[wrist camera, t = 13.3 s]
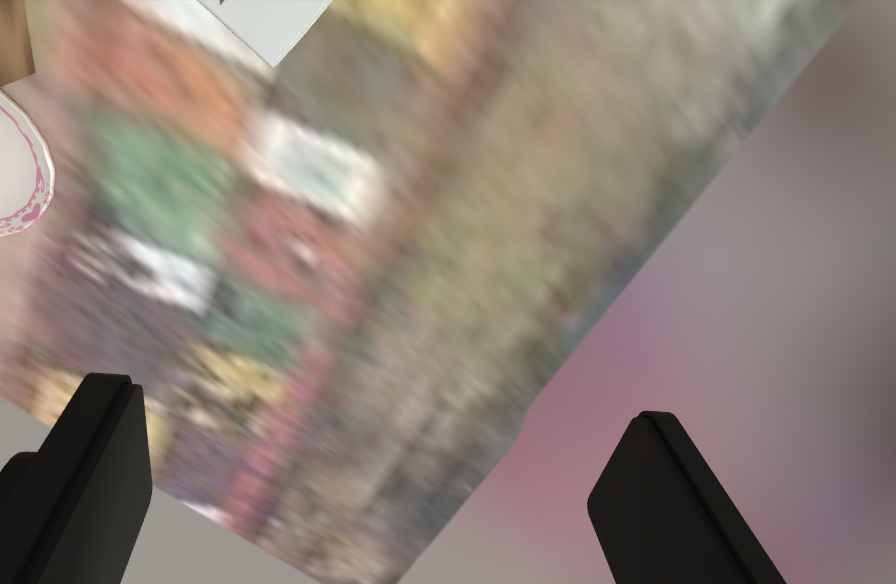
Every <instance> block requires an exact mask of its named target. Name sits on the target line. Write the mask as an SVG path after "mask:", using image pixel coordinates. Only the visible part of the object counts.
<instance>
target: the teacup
mask: <svg viewBox="0 0 896 584" xmlns="http://www.w3.org/2000/svg"><path fill="white" fill-rule="evenodd" d="M54 184H55V168H54V165H53V161H52V158H51V155H50V152H49V149H48V146H47V143H46V141H45V139H44V138H43V137H42V135H41V134H40V132H39V131H38V129H37V128H36V126H35V125H34V123H33V122H32V120H31V119H30V117H29V116H28V114H27V113H26V112H25V111H24V110H23V109H22V108H20V107H19V106H18V105H17V104H16V103H15V102H14V101H13V100H12V99H11V98H10V97H9V96H8V95H6V94H5V93H4V92H3V91H2V90H1V89H0V237H1V236H4V235H8V234H12V233H16V232H19V231H22V230H24V229H25V228H26V227H28V226H29V225H30V224H32V223H33V222H35V221H36V220H37V219H39V218H40V217H41V216H43V214H44V212H45V211H46V209H47V207H48V205H49V203H50V201H51V200H52V198H53V196H54Z"/></svg>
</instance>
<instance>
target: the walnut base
mask: <svg viewBox="0 0 896 584" xmlns="http://www.w3.org/2000/svg"><path fill="white" fill-rule="evenodd" d="M34 73H35V67H34V62H33V56H32V50H31V44H30V38H29V32H28V26H27V20H26V14H25V9H24V3H23V0H0V87H2V86H4V85H7V84H9V83H12V82H14V81H16V80H19V79H21V78H24V77H26V76H29V75H31V74H34Z"/></svg>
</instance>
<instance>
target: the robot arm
mask: <svg viewBox="0 0 896 584" xmlns="http://www.w3.org/2000/svg"><path fill="white" fill-rule="evenodd" d="M151 495H152V477H151V467H150V457H149V446H148V436H147V426H146V416H145V406H144V396H143V388H142V386H141V385H138V384H132V381H131V378H130V376H129V375H120V374H105V373H89V374H87V375H86V377H85V378H84V379H83V381H82V382H81V384H80V385H79V387H78V389H77V390H76V392H75V393H74V395H73V396H72V398H71V400H70V401H69V403H68V404H67V406H66V408H65V409H64V411H63V412H62V414H61V415H60V417H59V419H58V420H57V422H56V423H55V425H54V427H53V428H52V430H51V431H50V433H49V435H48V436H47V438H46V439H45V441H44V442H43V444H42V446H41V447H40V449H39V450H38V452H20V453H17V454H16V455H15V456H13V457H12V458H11V459H10V460H9V461H8V463H7V464H6V465H5V466H4V467H3V469H2V470H1V472H0V584H120V582H121V580H122V577H123V574H124V572H125V569H126V566H127V564H128V561H129V558H130V556H131V553H132V550H133V548H134V545H135V542H136V540H137V537H138V534H139V532H140V529H141V526H142V524H143V521H144V518H145V516H146V513H147V510H148V507H149V504H150V500H151ZM587 509H588V513H589V517H590V519H591V522H592V524H593V527H594V529H595V532H596V534H597V537H598V539H599V542H600V544H601V547H602V550H603V552H604V554H605V557H606V560H607V562H608V565H609V567H610V570H611V572H612V575H613V577H614V580H615V582H616V584H786V582H785V581H784V579H783V578H782V576H781V574H780V573H779V571H778V570H777V568H776V567H775V565H774V564H773V562H772V561H771V559H770V558H769V556H768V555H767V553H766V552H765V550H764V549H763V547H762V546H761V544H760V543H759V541H758V540H757V538H756V537H755V535H754V534H753V532H752V531H751V529H750V528H749V526H748V525H747V523H746V522H745V520H744V519H743V517H742V516H741V514H740V513H739V511H738V509H737V508H736V506H735V505H734V503H733V502H732V500H731V499H730V497H729V496H728V494H727V493H726V492H725V490H724V488H723V487H722V485H721V484H720V482H719V481H718V479H717V478H716V476H715V475H714V473H713V472H712V470H711V469H710V467H709V466H708V464H707V463H706V462H705V460H704V458H703V457H702V455H701V454H700V452H699V451H698V449H697V448H696V446H695V445H694V443H693V442H692V440H691V438H690V437H689V436H688V434H687V432H686V431H685V429H684V428H683V426H682V425H681V423H680V422H679V420H678V419H677V418H676V416H675V415H674V414H672V413H670V412H658V411H643V412H641V413H640V414H639V415H638V416H637V417H635V418H633V419H632V420H631V422H630V424H629V426H628V427H627V429H626V431H625V433H624V434H623V436H622V438H621V440H620V442H619V443H618V445H617V447H616V449H615V451H614V452H613V454H612V456H611V458H610V459H609V461H608V463H607V465H606V467H605V469H604V470H603V472H602V474H601V476H600V478H599V479H598V481H597V483H596V485H595V486H594V488H593V490H592V492H591V493H590V495H589V498H588V502H587Z"/></svg>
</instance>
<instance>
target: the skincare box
mask: <svg viewBox="0 0 896 584" xmlns="http://www.w3.org/2000/svg"><path fill="white" fill-rule="evenodd" d="M197 1H198V2H199V3H200V4H202V5H203V6H204V7H205V8H206V9H207V10H208V11H209V12H210V13H212V14H213V15H214V16H215V17H216V18H217V19H218V20H219V21H220V22H222V23H223V24H224V25H225V26H226V27H227V28H228V29H229V30H230V31H232V32H233V33H234V34H235V35H236V36H237V37H238V38H239V39H240V40H241V41H243V42H244V43H245V44H246V45H247V46H248V47H249V48H250V49H251V50H253V51H254V52H255V53H256V54H257V55H258V56H259V57H260V58H261V59H262V60H263V61H265V62H266V63H267V64H268V65H269V66H270V67H273V68H274V67H275V66H276V65H277V64H278V63H279V62H280V61H281V60H282V59H283V57H284V56H285V55H286V54H287V53H288V52H289V51H290V50H291V49H292V48H293V47H294V46H295V45H296V43H297V42H298V41H299V40H300V39H301V38H302V37H303V35H304V34H305V33H306V32H307V31H308V29H309V28H310V27H311V26H312V25H313V23H314V22H315V21H316V20H317V19H318V18H319V16H320V15H321V14H322V13H323V12H324V10H325V9H326V8H327V7H328V6H329V5H330V3H331V2H332V1H333V0H197Z"/></svg>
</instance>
